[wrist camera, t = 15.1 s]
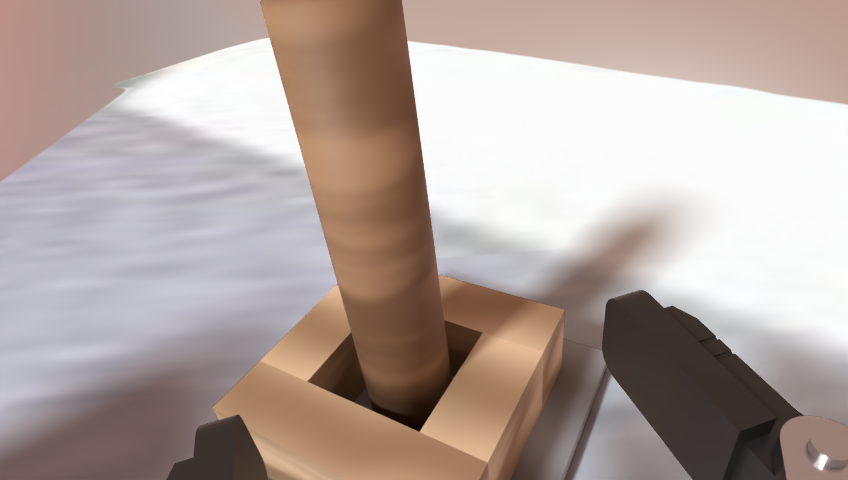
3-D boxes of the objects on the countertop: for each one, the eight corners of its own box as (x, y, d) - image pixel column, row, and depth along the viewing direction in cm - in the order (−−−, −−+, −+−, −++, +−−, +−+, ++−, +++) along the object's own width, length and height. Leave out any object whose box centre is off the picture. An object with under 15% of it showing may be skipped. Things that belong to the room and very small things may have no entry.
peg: (431, 471, 24) (340, 8, 13) (362, 436, 26) (230, 7, 15) (471, 406, 27) (425, -26, 15) (406, 379, 29) (322, -22, 17)
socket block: (486, 686, 18) (478, 631, 15) (188, 488, 26) (146, 426, 23) (608, 362, 29) (617, 295, 26) (373, 288, 37) (359, 230, 34)
